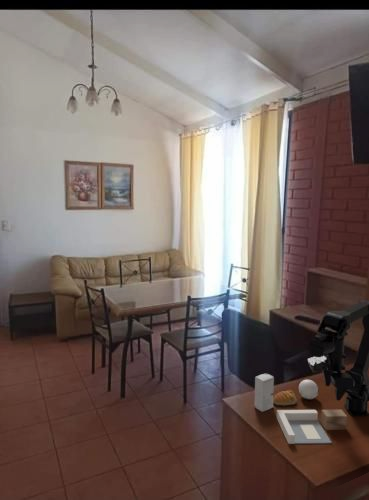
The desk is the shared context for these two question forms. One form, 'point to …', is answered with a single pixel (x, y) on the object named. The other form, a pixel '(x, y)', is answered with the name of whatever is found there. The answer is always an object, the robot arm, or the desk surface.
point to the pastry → (285, 398)
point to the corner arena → (302, 427)
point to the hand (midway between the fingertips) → (332, 392)
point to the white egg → (308, 389)
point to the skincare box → (264, 392)
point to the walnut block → (334, 420)
